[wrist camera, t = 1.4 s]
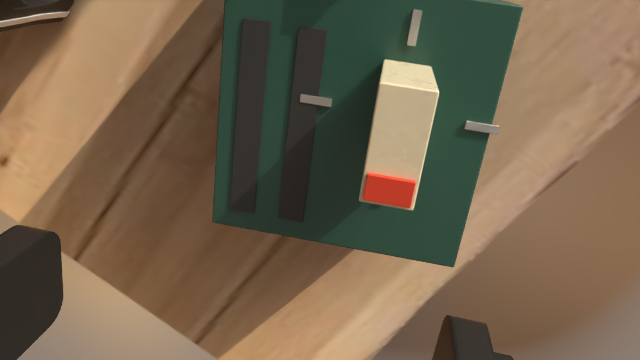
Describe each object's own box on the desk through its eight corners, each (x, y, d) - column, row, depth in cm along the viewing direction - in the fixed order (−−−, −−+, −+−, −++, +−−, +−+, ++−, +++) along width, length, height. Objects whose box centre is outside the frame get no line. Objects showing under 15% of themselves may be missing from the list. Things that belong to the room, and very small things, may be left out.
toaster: (282, -34, 31) (224, -37, 21) (488, -5, 30) (532, 7, 20) (265, 152, 36) (210, 224, 26) (443, 183, 35) (460, 271, 25)
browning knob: (384, 58, 22) (378, 82, 17) (431, 66, 22) (440, 92, 17) (366, 157, 23) (357, 204, 19) (411, 164, 23) (413, 214, 18)
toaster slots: (244, 17, 22) (243, 17, 22) (327, 29, 22) (327, 30, 22) (230, 208, 26) (229, 209, 25) (302, 221, 25) (302, 222, 25)
